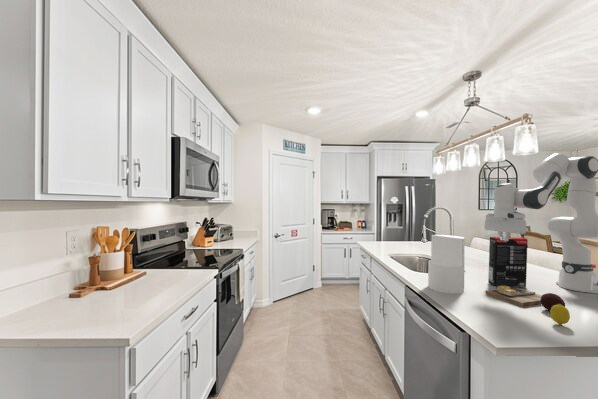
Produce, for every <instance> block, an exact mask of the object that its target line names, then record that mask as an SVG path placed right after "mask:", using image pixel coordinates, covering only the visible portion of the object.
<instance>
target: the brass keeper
mask: <svg viewBox="0 0 598 399" xmlns="http://www.w3.org/2000/svg"><path fill="white" fill-rule="evenodd" d="M510 288H511V287H508V286H505V285H501V286H497V289H498V292H499V293H502V294H504V292H507V293H516V290H512V289H510Z"/></svg>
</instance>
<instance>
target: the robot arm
mask: <svg viewBox="0 0 598 399" xmlns="http://www.w3.org/2000/svg"><path fill="white" fill-rule="evenodd" d="M597 173H598V158H596V157H595V156H592V155H583V156H577V157H570V158H569V156H568V155H566V154H564V153H560V152H558V153H553V154H551V155H550V156H548V157H546V158H544V160H542V161H541V162H539V164H537V165H536V166H535V168H534V169H533V171H532V175H533V178H534V179H535V181H537V182H538V183H539V184H540V185H539V186H538V187H537V188H532V189H530V188H529V189H519V188H517V187H516V186H514V183H511V182H507V183H506V182H504V183H499V184H497V185H496V186H495V187H494V190H493V191H494V193H493V194H494V195H493V202H494V207H493V213H488V214H486V215H485V221H484V229H485V231H491V232H497V234H498V237H500V240H502V241H508V240H509V237H511V235H512V234H518V235H524V234H526V233H527V222H526V221H527V220H526V214H525V213H522V212H520V211H519V212H518V211H516V209H531V210H541V209H542V208H543V207H545V206H546V204H547V203H548V200H549V198H550V197H551V195H552V194H553V192H554V191H555V190H556V189H557V187H558V186H559V184H560V182H561V181H562V180H563V179H565V180H566V179H569V180H570V182H569V185H568V189H567V195H566V203H565V205H566V206H567V208H568V209H570V210H571V211H574V212H575V213H576V216H575V217H574V216H557V217H552V218H551V219H549V221H548V222H547V229H548V231H549V232H550V234H552V235H554V236H555V237H556V238H557V239H558V241H559V242H560V245H561V248H562V261H561V269H560V270H559V273H558V281H556V282H555V284H556V285H558V287H560V288H563V289H566V290H570V291H576V292H581V293H582V292H583V293H592V294H598V274H597V273H596V272H595V271H594V269H596V268H597V264H593V263H592V251H591V249H590V248H589V247H588V246H587V245H584V244H583V243H581V241H580V240H579V239H580V238H582V239H593V240H594V239H595V240H596V239H598V213H597V210H596V195H597V194H596V193H597V180H596V178H595V176H596V175H597ZM503 234H505V236H504V235H503Z"/></svg>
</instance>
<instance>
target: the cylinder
mask: <svg viewBox="0 0 598 399" xmlns="http://www.w3.org/2000/svg"><path fill="white" fill-rule="evenodd" d="M465 243H466V242H465V237H463V236H458V235H452V234H451V235H450V234H448V235H447V234H432V235H431V250H430V252H431V255H430V256H431V259H430V260H428V265H427V266H428V275H427V276H428V279H427V281H428V282H427V284H428V288H429V289H431V290H432V291H435V292H439V293H443V294H450V295H452V294H453V295H455V294H462V293H465Z"/></svg>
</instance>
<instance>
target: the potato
mask: <svg viewBox="0 0 598 399" xmlns="http://www.w3.org/2000/svg"><path fill="white" fill-rule="evenodd" d="M541 295H542V296H541V299H540V301H541V304H542V305H541V306H542V307H543V308H544V309H545V310H546V311H549V312H550V311H551V308H552V307H553V306H554V305H558V304H561V305H562V306H564V307H566V302H565V300H564V299H563V298H562V297H561V296H560V295H558V294H555V293H553V292H552V293H551V292H549V293H544V294H541Z"/></svg>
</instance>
